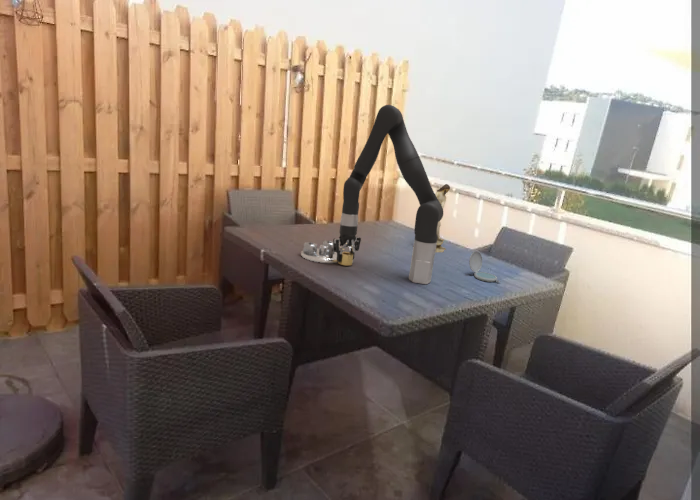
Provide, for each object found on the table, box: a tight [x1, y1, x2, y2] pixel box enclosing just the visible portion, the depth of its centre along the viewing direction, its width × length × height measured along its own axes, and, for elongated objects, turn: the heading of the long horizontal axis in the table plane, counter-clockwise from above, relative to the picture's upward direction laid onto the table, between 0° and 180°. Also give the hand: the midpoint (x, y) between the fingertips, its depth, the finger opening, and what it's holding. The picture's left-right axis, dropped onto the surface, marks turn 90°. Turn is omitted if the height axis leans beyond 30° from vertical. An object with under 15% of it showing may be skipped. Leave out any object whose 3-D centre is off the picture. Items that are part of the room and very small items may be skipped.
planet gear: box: [337, 251, 354, 266], centre depth 207 cm, size 6×6×4 cm
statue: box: [412, 183, 451, 254], centre depth 252 cm, size 17×17×35 cm
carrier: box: [300, 240, 339, 264], centre depth 215 cm, size 20×20×6 cm
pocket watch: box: [468, 250, 501, 283], centre depth 210 cm, size 10×11×15 cm
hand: (345, 260), depth 208 cm, fingers closed on planet gear, 6 cm apart
